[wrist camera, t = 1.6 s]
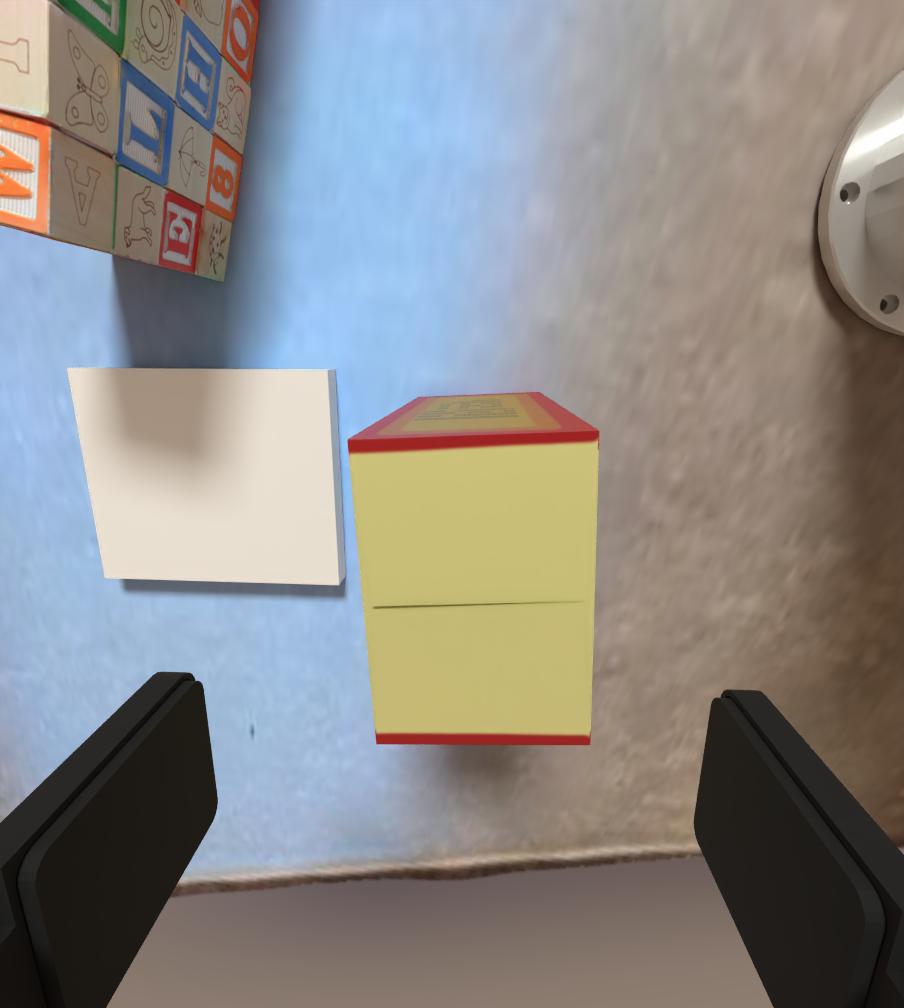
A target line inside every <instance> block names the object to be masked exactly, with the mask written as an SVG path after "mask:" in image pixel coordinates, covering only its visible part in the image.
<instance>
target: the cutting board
mask: <svg viewBox="0 0 904 1008" xmlns="http://www.w3.org/2000/svg"><path fill="white" fill-rule="evenodd" d="M67 370H68V376H69V381H70V387H71V393H72V398H73V404H74V409H75V415H76V420H77V426H78V431H79V437H80V443H81V448H82V454H83V459H84V465H85V470H86V476H87V481H88V487H89V493H90V498H91V504H92V509H93V515H94V520H95V526H96V532H97V537H98V543H99V548H100V554H101V559H102V565H103V570H104V576H105V578H118V579H151V580H183V581H216V582H249V583H282V584H315V585H340V583H341V582H342V580H343V579H344V577H345V575H346V569H345V550H344V530H343V510H342V490H341V470H340V450H339V431H338V411H337V391H336V371H335V369H217V368H67Z"/></svg>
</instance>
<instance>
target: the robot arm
mask: <svg viewBox="0 0 904 1008" xmlns="http://www.w3.org/2000/svg"><path fill="white" fill-rule="evenodd" d="M840 194H841V195H842V200H841V199H840ZM818 238H819V244H820V251H821V257H822V261H823V263H824V266H825V269H826V271H827V274H828V277H829V279H830V282H831V283H832V285H833V286H834V288H835V290H836V291H837V293H838V294H839V296H840V297H841V299H842V300H843V302H844V303H845V304H847V305H848V306H849V307H850V308H851V309H852V310H853V311H854V312H855V313H856V314H857V315H858V316H859V317H860V318H862V319H864V320H865V321H867V322H869V323H870V324H872V325H874V326H876V327H877V328H879V329H881V330H884V331H887V332H891V333H894V334H897V335H900V336H904V69H903V70H902V71H900V72H899V73H897V74H896V75H895V76H894V77H893V78H892V79H891V80H890V81H889V82H887V83H886V84H885V85H884V86H883V87H882V88H881V89H880V90H879V91H878V92H876V93H875V94H874V95H873V96H872V97H871V99H870V100H869V101H868V102H867V104H866V105H865V106H864V107H863V108H862V110H861V111H860V112H859V113H858V115H857V116H856V117H855V118H854V120H853V121H852V122H851V124H850V126H849V127H848V129H847V131H846V133H845V134H844V136H843V138H842V139H841V141H840V143H839V145H838V146H837V148H836V150H835V153H834V155H833V158H832V160H831V163H830V165H829V168H828V171H827V173H826V176H825V179H824V184H823V188H822V193H821V198H820V202H819V214H818ZM880 304H881V306H880ZM217 804H218V797H217V789H216V782H215V774H214V766H213V758H212V751H211V743H210V735H209V727H208V720H207V712H206V704H205V696H204V689H203V685H202V683H201V682H199V681H195V678H194V676H193V675H192V674H191V673H185V672H157V673H156V674H154V675H153V676H152V677H151V678H150V679H149V680H148V681H147V682H146V683H145V684H144V685H143V686H142V687H141V688H140V689H139V690H137V691H136V692H135V693H134V694H133V695H132V696H131V697H130V698H129V699H128V700H127V701H126V702H125V703H124V704H123V705H122V706H121V707H120V708H119V709H118V710H117V711H116V712H115V713H114V714H113V715H112V716H111V717H110V718H109V719H107V720H106V721H105V722H104V723H103V724H102V725H101V726H100V727H99V728H98V729H97V730H96V731H95V732H94V733H93V734H92V735H91V736H90V737H89V738H88V739H87V740H86V741H85V742H84V743H83V744H82V745H81V746H80V747H79V748H78V749H76V750H75V751H74V752H73V753H72V754H71V755H70V756H69V757H68V758H67V759H66V760H65V761H64V762H63V763H62V764H61V765H60V766H59V767H58V768H57V769H56V770H55V771H54V772H53V773H52V774H51V775H50V776H49V777H48V778H46V779H45V780H44V781H43V782H42V783H41V784H40V785H39V786H38V787H37V788H36V789H35V790H34V791H33V792H32V793H31V794H30V795H29V796H28V797H27V798H26V799H25V800H24V801H23V802H22V803H21V804H20V805H19V806H18V807H16V808H15V809H14V810H13V811H12V812H11V813H10V814H9V815H8V816H7V817H6V818H5V819H4V820H3V821H2V822H1V823H0V1008H106V1007H107V1005H108V1003H109V1002H110V1000H111V998H112V996H113V994H114V993H115V991H116V989H117V988H118V986H119V984H120V982H121V981H122V979H123V977H124V975H125V974H126V972H127V970H128V968H129V967H130V965H131V963H132V961H133V960H134V958H135V956H136V955H137V953H138V951H139V949H140V948H141V946H142V944H143V942H144V940H145V939H146V937H147V935H148V934H149V932H150V930H151V928H152V927H153V925H154V923H155V921H156V920H157V918H158V916H159V914H160V912H161V911H162V909H163V908H164V906H165V904H166V902H167V901H168V899H169V897H170V895H171V894H172V892H173V890H174V888H175V887H176V885H177V883H178V881H179V880H180V878H181V876H182V874H183V873H184V871H185V869H186V867H187V866H188V864H189V862H190V861H191V859H192V857H193V855H194V854H195V852H196V850H197V848H198V847H199V845H200V843H201V841H202V840H203V838H204V836H205V834H206V833H207V831H208V829H209V827H210V826H211V824H212V822H213V820H214V817H215V814H216V810H217ZM694 830H695V835H696V839H697V842H698V844H699V846H700V849H701V851H702V853H703V855H704V857H705V860H706V862H707V864H708V866H709V868H710V870H711V873H712V875H713V877H714V879H715V881H716V883H717V886H718V888H719V890H720V892H721V894H722V896H723V898H724V901H725V903H726V905H727V907H728V909H729V911H730V913H731V916H732V918H733V920H734V922H735V925H736V927H737V929H738V931H739V933H740V935H741V937H742V940H743V942H744V944H745V946H746V948H747V951H748V953H749V955H750V957H751V959H752V961H753V964H754V966H755V968H756V970H757V972H758V975H759V977H760V979H761V981H762V983H763V985H764V987H765V990H766V992H767V994H768V996H769V998H770V1001H771V1003H772V1005H773V1007H774V1008H904V855H903V854H902V852H901V851H900V850H899V849H898V848H897V846H896V845H895V844H894V843H893V842H892V841H891V840H890V838H889V837H888V836H887V835H886V834H885V833H884V831H883V830H882V829H881V828H880V827H879V826H878V825H877V823H876V822H875V821H874V820H873V819H872V818H871V817H870V815H869V814H868V813H867V812H866V811H865V810H864V808H863V807H862V806H861V805H860V804H859V803H858V802H857V800H856V799H855V798H854V797H853V796H852V795H851V793H850V792H849V791H848V790H847V789H846V788H845V787H844V785H843V784H842V783H841V782H840V781H839V780H838V778H837V777H836V776H835V775H834V774H833V773H832V772H831V770H830V769H829V768H828V767H827V766H826V765H825V764H824V762H823V761H822V760H821V759H820V758H819V757H818V755H817V754H816V753H815V752H814V751H813V750H812V749H811V747H810V746H809V745H808V744H807V743H806V742H805V740H804V739H803V738H802V737H801V736H800V735H799V734H798V732H797V731H796V730H795V729H794V728H793V727H792V725H791V724H790V723H789V722H788V721H787V720H786V719H785V717H784V716H783V715H782V714H781V713H780V712H779V711H778V709H777V708H776V707H775V706H774V705H773V704H772V702H771V701H770V700H769V699H768V698H767V697H766V696H765V695H764V694H763V693H762V692H761V691H756V690H725V691H723V693H722V694H721V698H714V699H713V701H712V704H711V709H710V716H709V722H708V729H707V735H706V742H705V749H704V755H703V762H702V769H701V775H700V782H699V788H698V795H697V802H696V808H695V815H694Z"/></svg>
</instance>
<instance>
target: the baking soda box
mask: <svg viewBox="0 0 904 1008" xmlns="http://www.w3.org/2000/svg"><path fill="white" fill-rule="evenodd" d="M348 451H349V461H350V472H351V482H352V492H353V503H354V513H355V524H356V534H357V545H358V555H359V566H360V576H361V587H362V597H363V608H364V618H365V629H366V639H367V649H368V660H369V670H370V681H371V691H372V702H373V712H374V723H375V733H376V744H444V745H590V735H591V700H592V666H593V631H594V597H595V562H596V528H597V493H598V459H599V430H597V429H596V428H594V427H593V426H591V425H589V424H588V423H586V422H585V421H583V420H582V419H580V418H579V417H577V416H575V415H574V414H572V413H571V412H569V411H568V410H566V409H565V408H563V407H561V406H560V405H558V404H557V403H555V402H554V401H552V400H551V399H549V398H547V397H546V396H544V395H543V394H541V393H540V392H530V393H506V394H481V395H456V396H432V397H418V398H416V399H414V400H413V401H411V402H409V403H408V404H406V405H404V406H403V407H401V408H399V409H398V410H396V411H394V412H393V413H391V414H389V415H388V416H386V417H384V418H383V419H381V420H379V421H378V422H376V423H374V424H373V425H371V426H369V427H368V428H366V429H364V430H363V431H361V432H359V433H358V434H356V435H354V436H353V437H351V438H349V439H348Z"/></svg>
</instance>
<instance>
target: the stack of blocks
mask: <svg viewBox="0 0 904 1008" xmlns="http://www.w3.org/2000/svg"><path fill="white" fill-rule="evenodd" d="M259 3H260V0H0V225H2V226H5V227H9V228H13V229H17V230H21V231H24V232H28V233H31V234H35V235H38V236H42V237H46V238H49V239H52V240H56V241H61V242H65V243H69V244H73V245H77V246H81V247H85V248H89V249H93V250H97V251H101V252H105V253H109V254H113V255H117V256H121V257H125V258H129V259H133V260H137V261H141V262H144V263H148V264H153V265H157V266H161V267H165V268H169V269H173V270H177V271H181V272H185V273H190V274H194V275H198V276H201V277H205V278H208V279H211V280H215V281H219V282H223V281H224V278H225V271H226V264H227V257H228V249H229V242H230V235H231V228H232V222H233V221H234V218H235V211H236V203H237V196H238V189H239V181H240V174H241V167H242V155H243V152H244V145H245V139H246V132H247V124H248V117H249V109H250V101H251V87H250V80H251V77H252V66H253V56H254V52H255V44H256V36H257V28H258V21H259V14H258V9H259Z"/></svg>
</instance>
